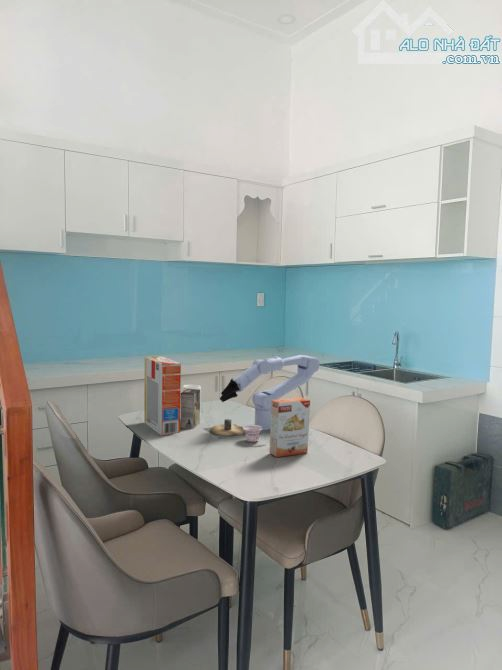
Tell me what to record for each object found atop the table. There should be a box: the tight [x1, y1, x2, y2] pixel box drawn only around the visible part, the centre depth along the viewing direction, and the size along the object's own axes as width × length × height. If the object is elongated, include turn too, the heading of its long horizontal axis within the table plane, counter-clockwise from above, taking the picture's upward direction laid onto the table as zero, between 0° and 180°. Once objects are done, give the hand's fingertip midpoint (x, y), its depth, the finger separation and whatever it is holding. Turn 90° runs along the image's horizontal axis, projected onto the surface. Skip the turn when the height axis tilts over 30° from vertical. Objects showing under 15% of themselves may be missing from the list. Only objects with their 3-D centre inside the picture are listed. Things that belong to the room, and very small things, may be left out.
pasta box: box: [143, 355, 182, 437], centre depth 224 cm, size 23×8×30 cm, turn 30°
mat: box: [202, 424, 246, 439], centre depth 221 cm, size 16×16×1 cm
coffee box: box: [180, 389, 201, 430], centre depth 228 cm, size 9×6×16 cm
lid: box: [210, 418, 245, 437], centre depth 221 cm, size 15×15×5 cm
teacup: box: [242, 424, 267, 448], centre depth 207 cm, size 12×12×6 cm
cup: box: [182, 384, 202, 413], centre depth 239 cm, size 8×8×16 cm
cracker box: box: [269, 397, 311, 458], centre depth 194 cm, size 14×6×21 cm, turn 117°
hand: (221, 397), depth 217 cm, fingers open, 7 cm apart
